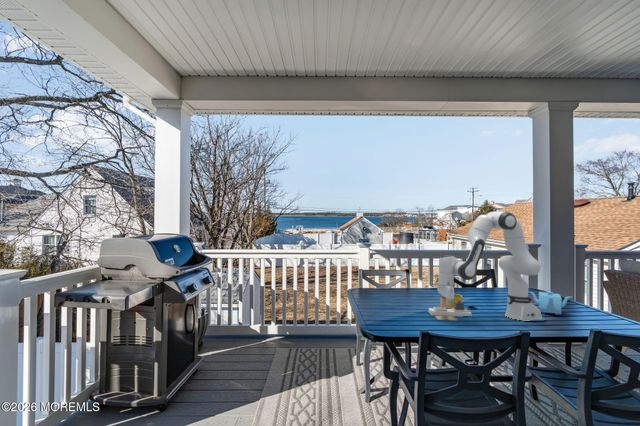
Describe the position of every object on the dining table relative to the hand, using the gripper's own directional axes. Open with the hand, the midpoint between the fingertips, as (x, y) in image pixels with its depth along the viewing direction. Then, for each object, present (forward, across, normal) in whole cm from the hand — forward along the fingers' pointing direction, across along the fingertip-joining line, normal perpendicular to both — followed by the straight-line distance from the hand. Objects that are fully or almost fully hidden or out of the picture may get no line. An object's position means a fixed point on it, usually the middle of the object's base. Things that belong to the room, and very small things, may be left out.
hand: (445, 303), depth 207 cm
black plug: (+6, +10, -12) cm, 17 cm away
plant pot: (+9, +23, -14) cm, 28 cm away
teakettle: (+9, +22, -77) cm, 81 cm away
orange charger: (+2, 0, 0) cm, 2 cm away
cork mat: (+9, 0, -1) cm, 9 cm away
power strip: (+9, +10, -6) cm, 15 cm away
